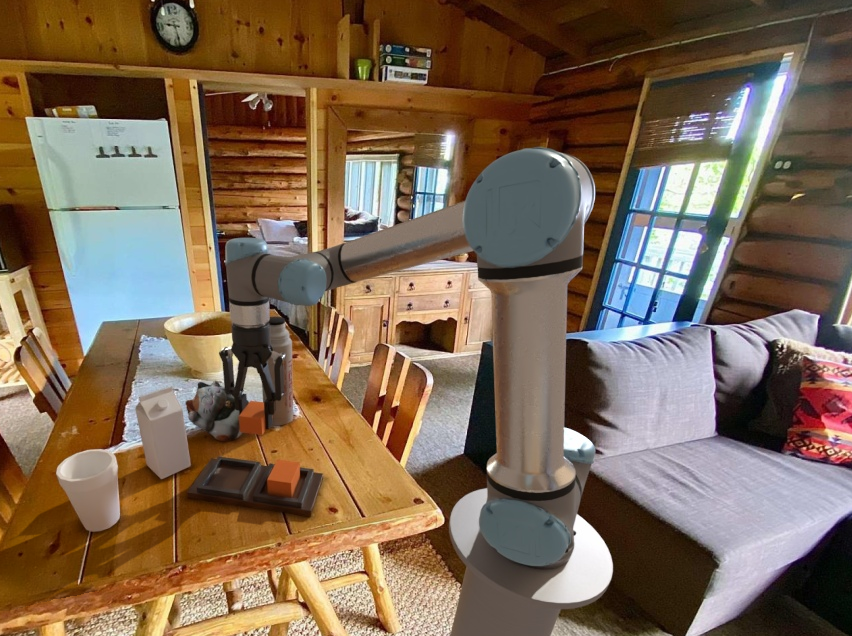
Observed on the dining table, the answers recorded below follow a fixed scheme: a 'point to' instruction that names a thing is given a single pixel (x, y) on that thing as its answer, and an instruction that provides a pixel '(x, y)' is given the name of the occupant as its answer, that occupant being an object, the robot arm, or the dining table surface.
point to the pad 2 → (283, 478)
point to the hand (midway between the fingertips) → (256, 424)
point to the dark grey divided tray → (253, 486)
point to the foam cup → (92, 487)
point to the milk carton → (163, 432)
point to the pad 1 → (253, 418)
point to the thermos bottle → (284, 345)
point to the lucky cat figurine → (214, 412)
